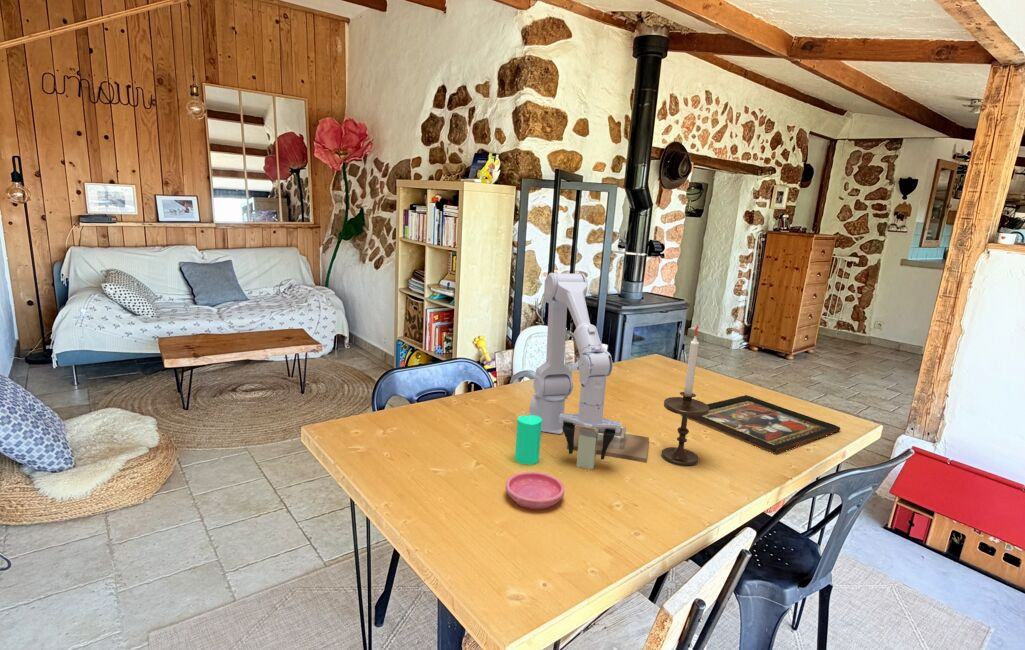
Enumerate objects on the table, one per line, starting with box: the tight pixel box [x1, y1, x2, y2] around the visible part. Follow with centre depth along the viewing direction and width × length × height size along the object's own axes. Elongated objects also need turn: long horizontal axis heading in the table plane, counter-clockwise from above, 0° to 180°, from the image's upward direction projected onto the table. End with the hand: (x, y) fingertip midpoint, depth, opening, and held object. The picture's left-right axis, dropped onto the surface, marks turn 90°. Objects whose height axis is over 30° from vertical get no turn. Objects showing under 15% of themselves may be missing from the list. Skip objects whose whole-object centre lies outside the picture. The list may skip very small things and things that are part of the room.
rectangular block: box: [576, 429, 598, 470], centre depth 134 cm, size 4×4×8 cm
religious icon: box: [687, 394, 841, 455], centre depth 169 cm, size 38×35×3 cm
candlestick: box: [660, 323, 710, 467], centre depth 138 cm, size 11×11×35 cm
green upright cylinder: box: [514, 414, 542, 466], centre depth 135 cm, size 6×6×12 cm
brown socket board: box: [566, 425, 650, 463], centre depth 147 cm, size 20×14×4 cm
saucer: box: [505, 471, 565, 510], centre depth 118 cm, size 12×12×3 cm
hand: (586, 455), depth 135 cm, fingers open, 7 cm apart
